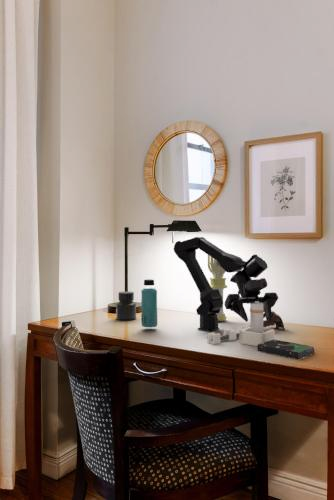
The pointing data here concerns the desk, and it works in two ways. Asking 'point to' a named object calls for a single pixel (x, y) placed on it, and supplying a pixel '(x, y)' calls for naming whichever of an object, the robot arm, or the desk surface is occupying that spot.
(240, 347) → the desk surface
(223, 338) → the cable
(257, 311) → the white squeeze bottle
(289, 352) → the disk drive
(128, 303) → the ink bottle
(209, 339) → the cable clips
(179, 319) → the desk surface
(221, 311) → the trophy
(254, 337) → the end holder
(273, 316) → the dark brown curved piece
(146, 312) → the beverage bottle
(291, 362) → the desk surface
